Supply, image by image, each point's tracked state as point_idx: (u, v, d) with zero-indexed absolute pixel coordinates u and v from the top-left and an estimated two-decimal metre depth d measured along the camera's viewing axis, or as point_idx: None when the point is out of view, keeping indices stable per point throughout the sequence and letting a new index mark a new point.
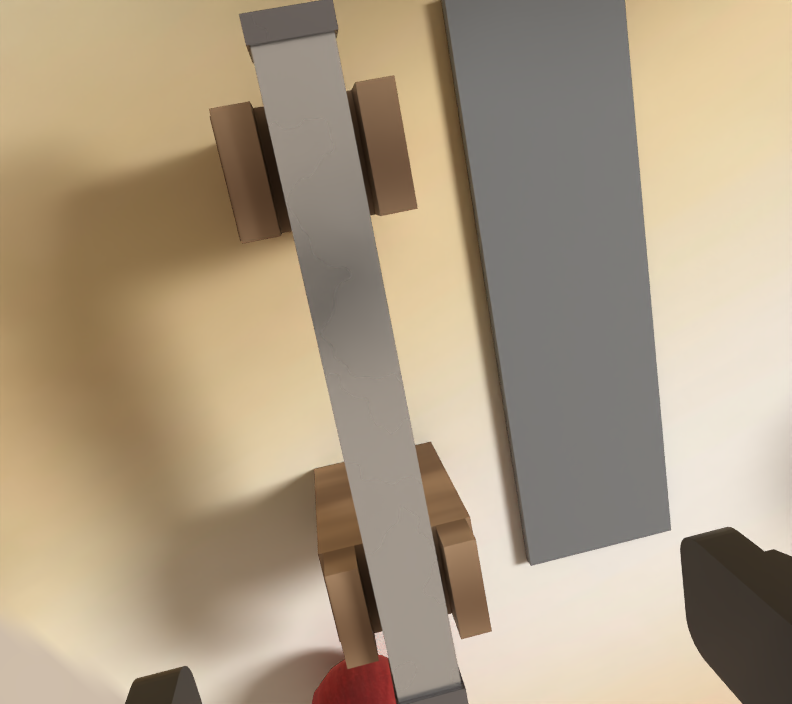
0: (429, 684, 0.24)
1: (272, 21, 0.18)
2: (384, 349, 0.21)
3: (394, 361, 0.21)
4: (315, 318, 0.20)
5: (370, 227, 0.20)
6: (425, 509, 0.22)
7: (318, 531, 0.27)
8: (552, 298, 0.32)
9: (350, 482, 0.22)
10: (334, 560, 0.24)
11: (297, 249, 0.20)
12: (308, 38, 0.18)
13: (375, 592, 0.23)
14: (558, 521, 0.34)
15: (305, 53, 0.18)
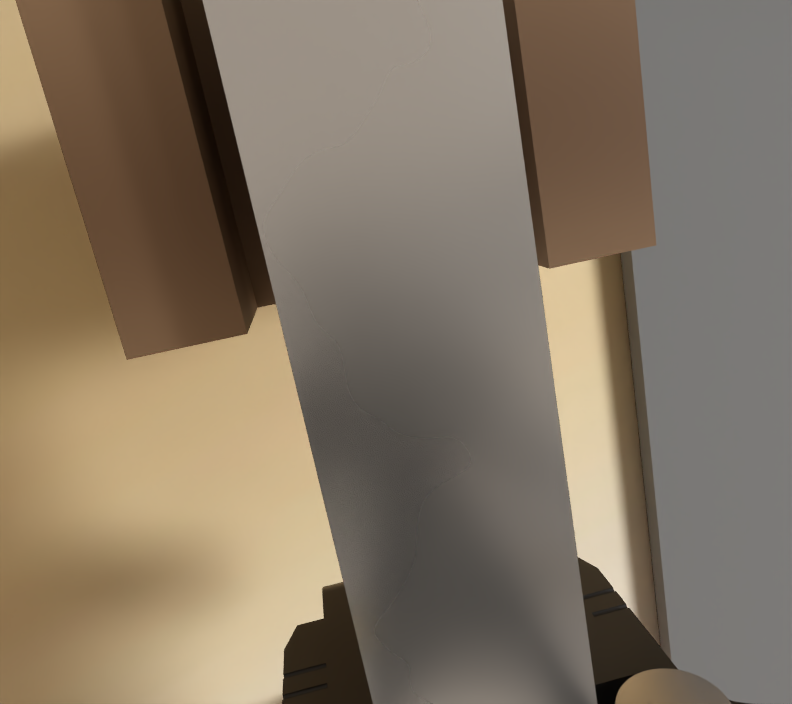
0: None
1: None
2: (557, 662, 0.07)
3: (582, 688, 0.07)
4: (356, 592, 0.07)
5: (536, 311, 0.06)
6: None
7: None
8: (750, 382, 0.18)
9: None
10: None
11: (300, 388, 0.06)
12: None
13: None
14: None
15: None
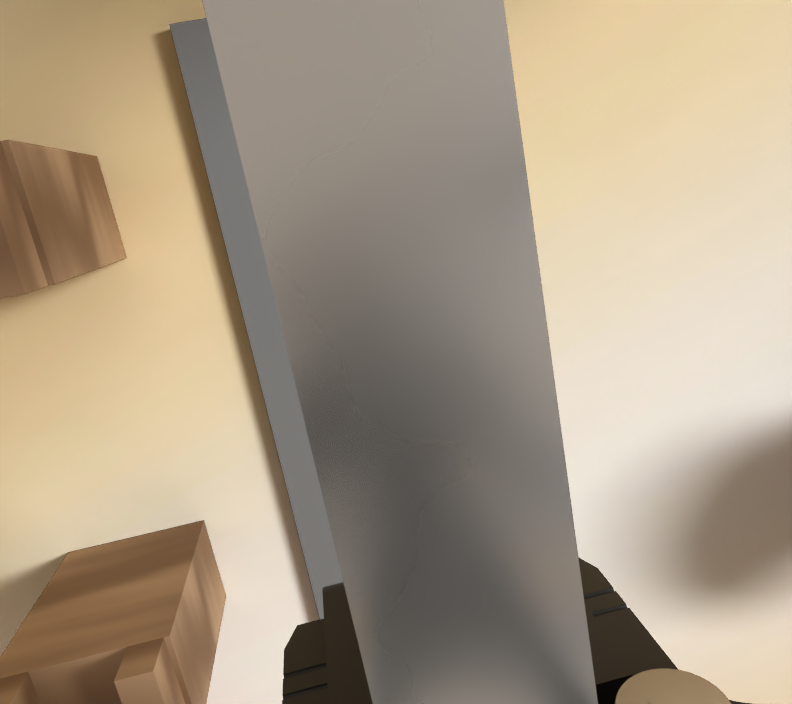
0: None
1: None
2: (558, 666, 0.07)
3: (584, 693, 0.07)
4: (358, 597, 0.07)
5: (538, 316, 0.06)
6: None
7: (8, 646, 0.23)
8: None
9: None
10: None
11: (301, 393, 0.06)
12: None
13: None
14: None
15: None
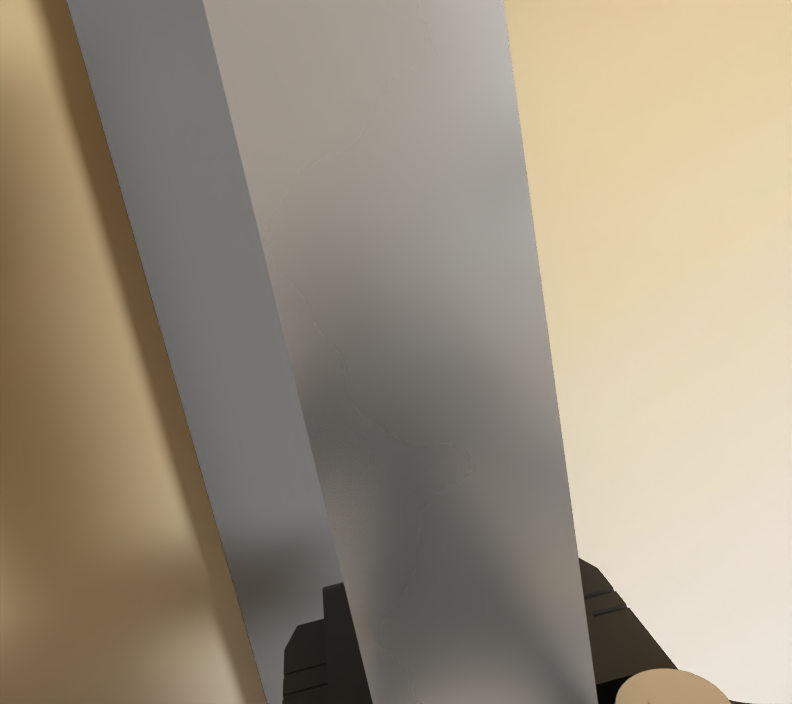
0: None
1: None
2: (558, 668, 0.07)
3: (584, 694, 0.07)
4: (358, 599, 0.07)
5: (538, 318, 0.06)
6: None
7: None
8: None
9: None
10: None
11: (302, 395, 0.06)
12: None
13: None
14: None
15: None
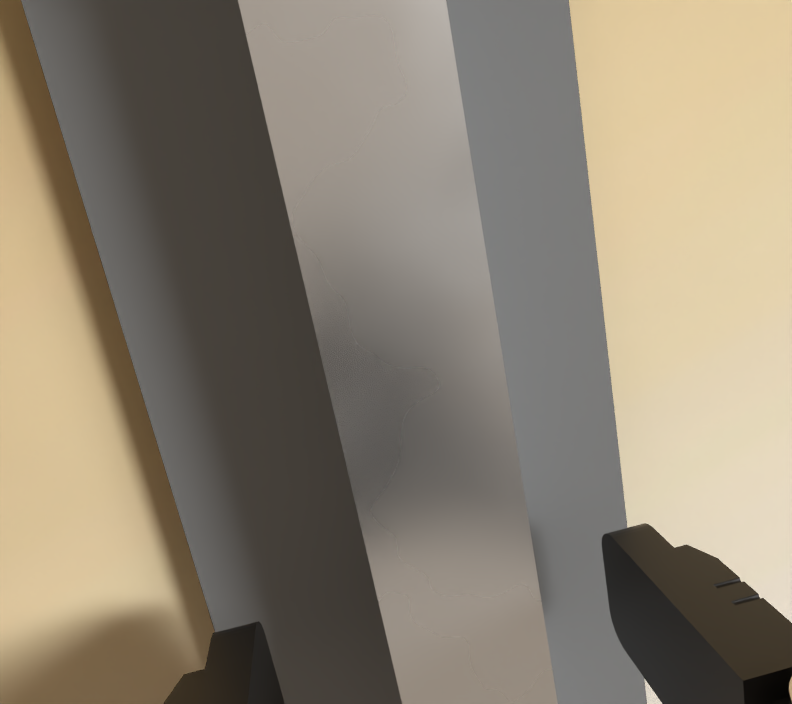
0: None
1: None
2: (505, 538, 0.10)
3: (525, 560, 0.10)
4: (358, 481, 0.09)
5: (484, 277, 0.09)
6: None
7: None
8: None
9: None
10: None
11: (317, 331, 0.08)
12: None
13: None
14: None
15: None
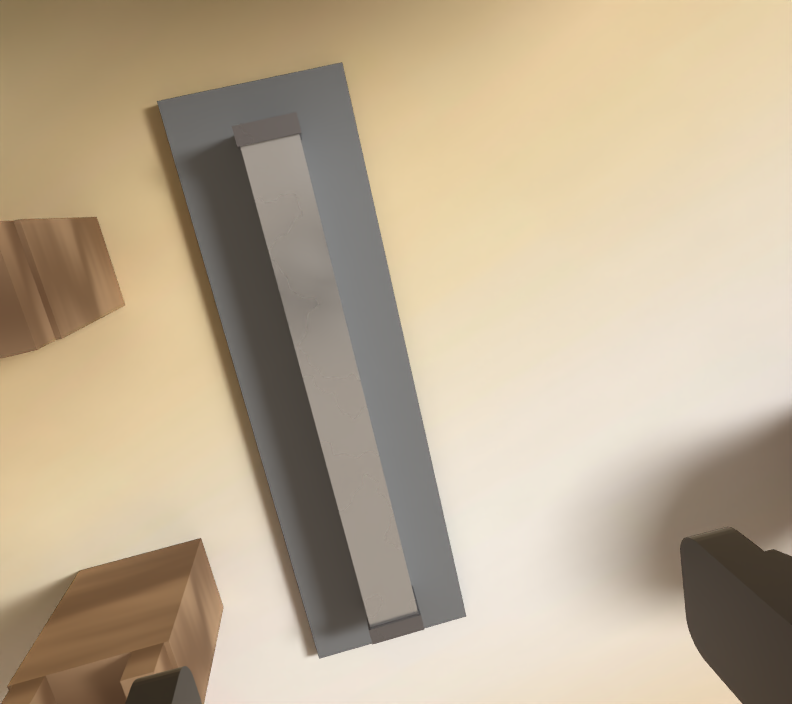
0: (393, 612, 0.31)
1: (255, 129, 0.26)
2: (345, 357, 0.28)
3: (353, 365, 0.29)
4: (294, 335, 0.28)
5: (331, 268, 0.28)
6: (382, 475, 0.30)
7: (27, 655, 0.26)
8: None
9: (325, 456, 0.29)
10: (15, 695, 0.24)
11: (278, 286, 0.27)
12: (280, 139, 0.26)
13: (347, 540, 0.30)
14: (343, 613, 0.34)
15: (279, 149, 0.26)
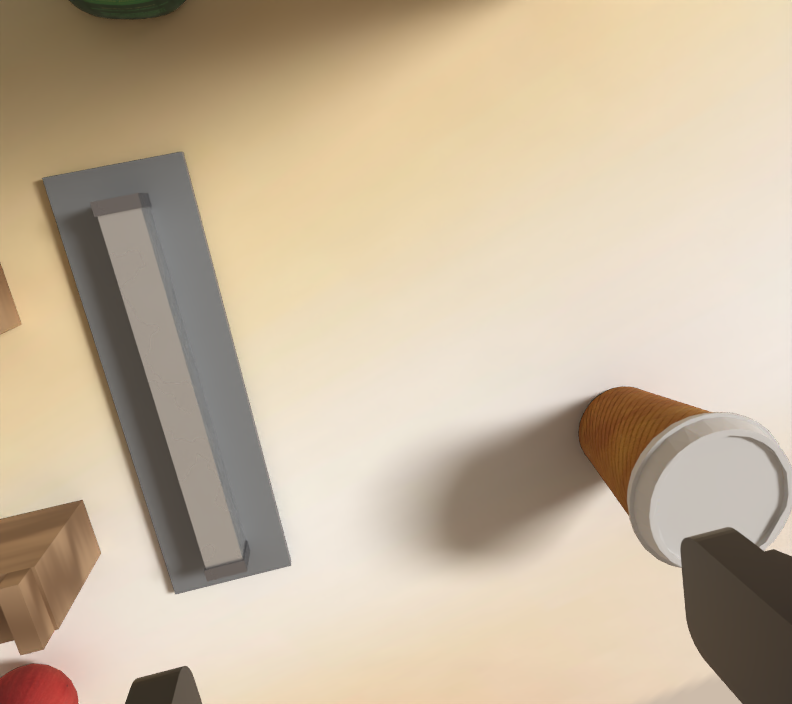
0: (223, 558, 0.42)
1: (107, 205, 0.36)
2: (180, 368, 0.39)
3: (186, 374, 0.39)
4: (141, 352, 0.38)
5: (167, 304, 0.38)
6: (211, 455, 0.40)
7: None
8: None
9: (166, 440, 0.40)
10: None
11: (128, 316, 0.38)
12: (127, 211, 0.36)
13: (186, 503, 0.41)
14: (193, 560, 0.44)
15: (126, 218, 0.36)
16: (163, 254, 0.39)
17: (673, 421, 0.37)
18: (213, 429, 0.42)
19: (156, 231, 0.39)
